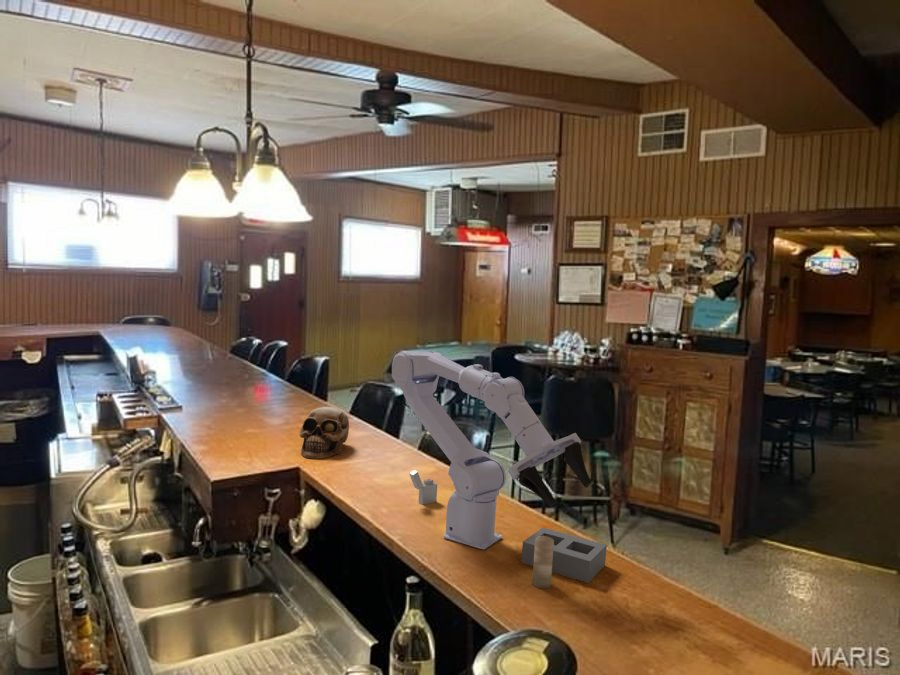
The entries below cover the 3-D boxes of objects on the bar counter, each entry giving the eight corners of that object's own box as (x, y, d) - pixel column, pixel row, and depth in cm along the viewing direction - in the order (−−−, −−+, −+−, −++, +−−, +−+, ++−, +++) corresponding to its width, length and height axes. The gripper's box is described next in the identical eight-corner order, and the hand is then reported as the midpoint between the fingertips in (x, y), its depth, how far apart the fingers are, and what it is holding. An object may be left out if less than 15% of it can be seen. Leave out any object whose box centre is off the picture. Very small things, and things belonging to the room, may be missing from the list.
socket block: (521, 562, 120) (522, 541, 120) (541, 546, 128) (542, 527, 128) (588, 583, 114) (590, 561, 113) (605, 565, 121) (606, 544, 121)
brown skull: (306, 459, 177) (308, 410, 178) (290, 449, 193) (292, 404, 193) (360, 457, 185) (362, 410, 185) (340, 447, 200) (342, 404, 200)
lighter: (432, 499, 152) (434, 466, 151) (436, 501, 151) (438, 468, 150) (407, 504, 148) (409, 470, 147) (411, 507, 146) (413, 472, 145)
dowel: (529, 584, 112) (532, 540, 111) (536, 578, 115) (539, 534, 114) (546, 590, 110) (549, 545, 109) (553, 583, 113) (556, 539, 112)
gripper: (498, 439, 114) (540, 505, 108) (565, 406, 119) (609, 467, 112) (493, 455, 120) (533, 519, 114) (557, 423, 125) (599, 482, 118)
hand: (571, 494), depth 113 cm, fingers open, 7 cm apart
